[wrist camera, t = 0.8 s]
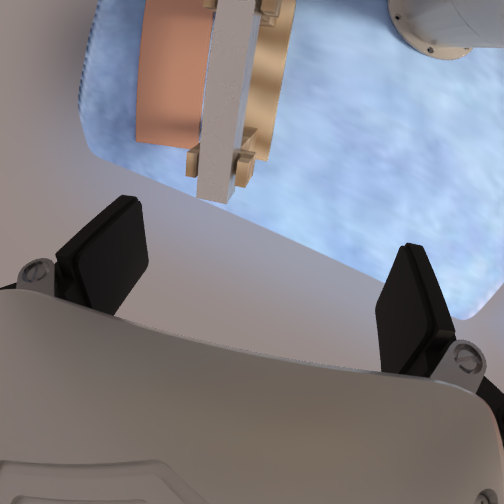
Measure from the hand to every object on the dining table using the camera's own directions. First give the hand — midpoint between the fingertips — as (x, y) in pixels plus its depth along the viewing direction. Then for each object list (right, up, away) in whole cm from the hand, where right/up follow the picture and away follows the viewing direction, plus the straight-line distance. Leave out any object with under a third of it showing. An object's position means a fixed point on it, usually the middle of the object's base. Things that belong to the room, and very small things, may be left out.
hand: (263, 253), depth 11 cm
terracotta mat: (-11, +25, +24) cm, 37 cm away
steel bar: (-2, +15, +14) cm, 21 cm away
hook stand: (0, +22, +23) cm, 32 cm away
